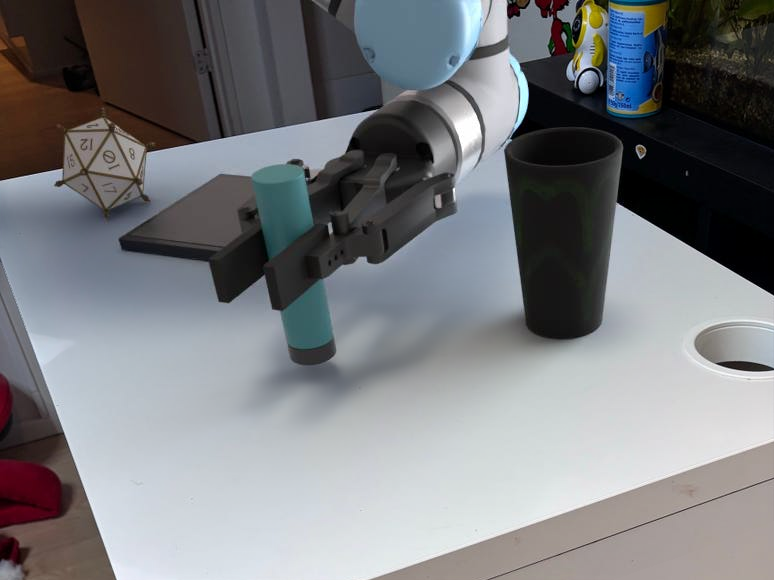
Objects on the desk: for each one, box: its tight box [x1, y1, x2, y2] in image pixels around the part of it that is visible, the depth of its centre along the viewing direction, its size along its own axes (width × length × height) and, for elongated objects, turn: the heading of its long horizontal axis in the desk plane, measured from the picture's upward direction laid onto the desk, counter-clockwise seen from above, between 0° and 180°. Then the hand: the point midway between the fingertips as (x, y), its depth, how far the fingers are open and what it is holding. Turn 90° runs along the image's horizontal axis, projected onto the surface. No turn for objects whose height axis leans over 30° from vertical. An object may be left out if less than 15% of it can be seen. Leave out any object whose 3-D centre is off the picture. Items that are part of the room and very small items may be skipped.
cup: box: [503, 126, 624, 340], centre depth 70 cm, size 8×8×12 cm
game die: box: [53, 106, 156, 222], centre depth 93 cm, size 9×8×10 cm
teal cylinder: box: [251, 163, 337, 366], centre depth 66 cm, size 3×3×12 cm
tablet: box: [117, 173, 255, 262], centre depth 91 cm, size 15×16×1 cm
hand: (245, 284), depth 61 cm, fingers closed on teal cylinder, 3 cm apart
